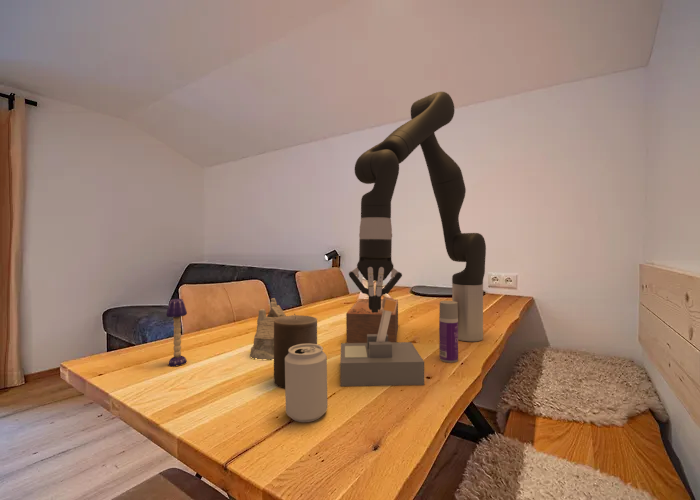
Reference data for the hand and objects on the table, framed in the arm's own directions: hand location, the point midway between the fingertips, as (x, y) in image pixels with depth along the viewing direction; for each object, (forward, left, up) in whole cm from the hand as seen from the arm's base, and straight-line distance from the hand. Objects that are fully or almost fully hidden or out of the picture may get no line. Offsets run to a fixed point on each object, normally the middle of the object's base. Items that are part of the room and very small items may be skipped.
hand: (374, 311), depth 78 cm
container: (-8, +20, -15) cm, 26 cm away
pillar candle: (+3, -18, -15) cm, 23 cm away
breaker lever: (0, +1, -8) cm, 8 cm away
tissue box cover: (-32, +3, -15) cm, 35 cm away
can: (+18, -14, -15) cm, 27 cm away
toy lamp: (-8, -50, -15) cm, 53 cm away
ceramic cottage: (-17, -25, -15) cm, 33 cm away
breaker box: (0, +1, -14) cm, 14 cm away
